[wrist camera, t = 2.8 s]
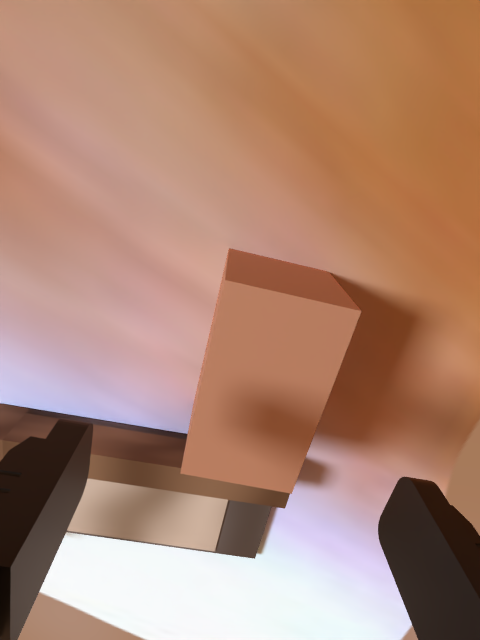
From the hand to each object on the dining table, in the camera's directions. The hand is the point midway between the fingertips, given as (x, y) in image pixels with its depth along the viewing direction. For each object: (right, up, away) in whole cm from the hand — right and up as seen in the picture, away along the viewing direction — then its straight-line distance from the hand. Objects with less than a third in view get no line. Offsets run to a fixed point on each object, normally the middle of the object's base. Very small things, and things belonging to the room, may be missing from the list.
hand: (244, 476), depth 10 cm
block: (+1, +3, +8) cm, 9 cm away
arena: (-6, -5, +12) cm, 14 cm away
